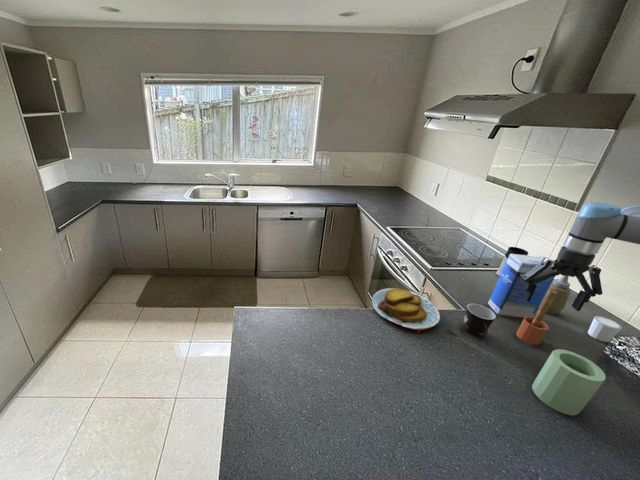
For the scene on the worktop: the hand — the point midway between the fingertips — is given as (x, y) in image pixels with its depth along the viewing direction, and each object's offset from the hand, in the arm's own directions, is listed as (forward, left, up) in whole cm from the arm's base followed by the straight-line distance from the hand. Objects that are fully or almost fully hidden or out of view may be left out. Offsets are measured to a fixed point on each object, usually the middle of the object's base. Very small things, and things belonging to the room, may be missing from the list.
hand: (550, 303), depth 98 cm
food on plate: (+37, +23, -17) cm, 47 cm away
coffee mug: (+15, +15, -17) cm, 27 cm away
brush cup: (+1, +1, -17) cm, 17 cm away
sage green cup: (-9, +25, -17) cm, 31 cm away
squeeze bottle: (-1, -29, -17) cm, 34 cm away
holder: (+15, -47, -17) cm, 52 cm away
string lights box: (+9, -13, -17) cm, 23 cm away
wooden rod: (+1, +1, -16) cm, 16 cm away
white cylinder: (-16, -24, -17) cm, 33 cm away
